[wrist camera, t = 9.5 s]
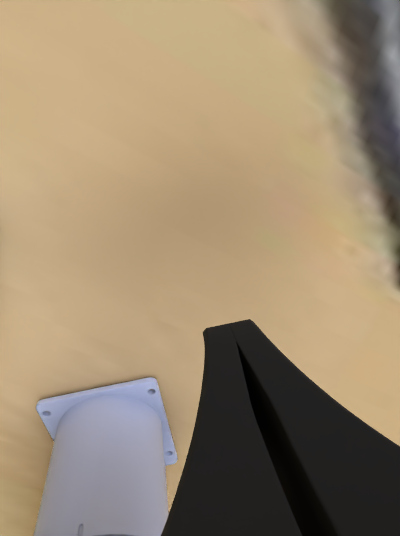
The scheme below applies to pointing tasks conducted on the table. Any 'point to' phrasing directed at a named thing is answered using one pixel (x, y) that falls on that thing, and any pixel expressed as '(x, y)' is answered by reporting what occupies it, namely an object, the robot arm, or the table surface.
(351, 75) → the table surface
